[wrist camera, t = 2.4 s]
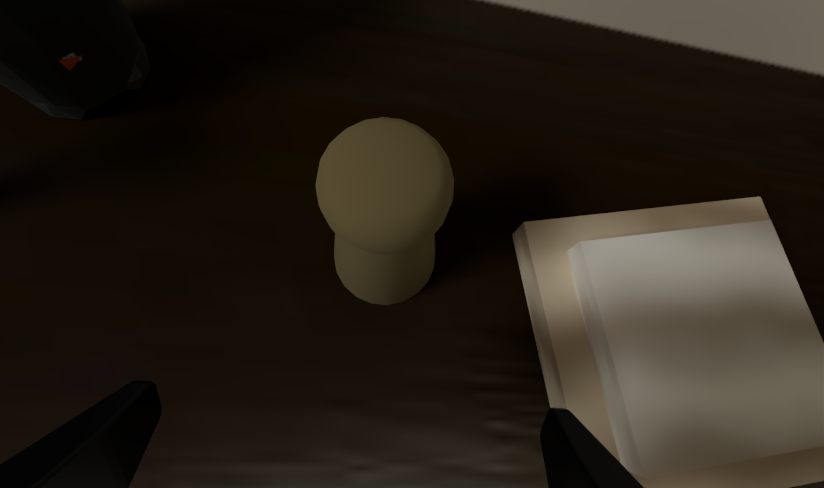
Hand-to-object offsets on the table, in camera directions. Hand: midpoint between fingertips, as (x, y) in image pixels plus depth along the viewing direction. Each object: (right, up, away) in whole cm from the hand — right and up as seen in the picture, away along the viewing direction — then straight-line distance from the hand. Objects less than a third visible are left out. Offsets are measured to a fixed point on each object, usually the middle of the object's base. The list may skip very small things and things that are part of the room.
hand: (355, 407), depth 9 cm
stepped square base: (+16, -2, +14) cm, 22 cm away
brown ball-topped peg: (0, +3, +15) cm, 15 cm away
